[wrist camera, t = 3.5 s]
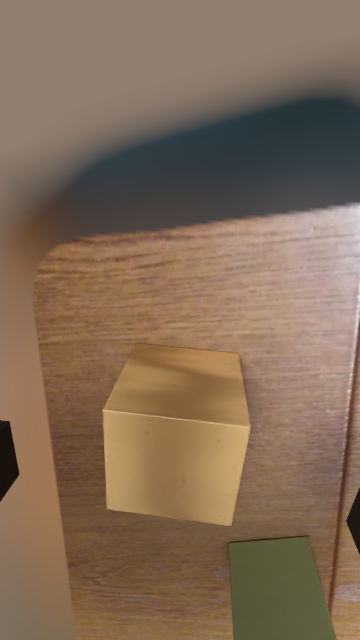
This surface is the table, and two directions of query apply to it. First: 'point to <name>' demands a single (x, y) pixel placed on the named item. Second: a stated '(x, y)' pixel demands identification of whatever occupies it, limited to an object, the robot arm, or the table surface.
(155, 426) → the beech block
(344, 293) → the table surface
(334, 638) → the sage block
